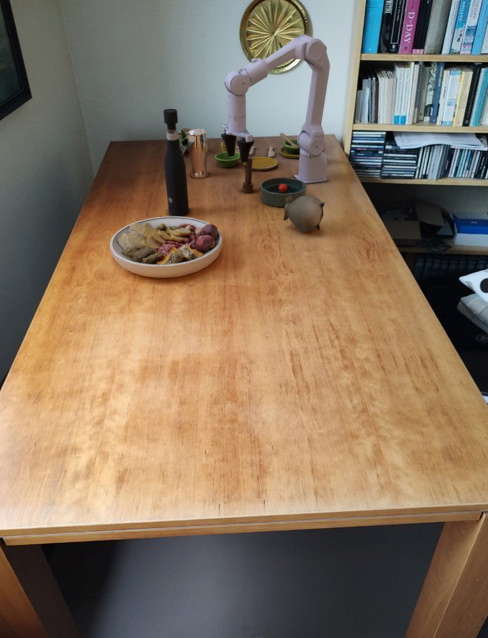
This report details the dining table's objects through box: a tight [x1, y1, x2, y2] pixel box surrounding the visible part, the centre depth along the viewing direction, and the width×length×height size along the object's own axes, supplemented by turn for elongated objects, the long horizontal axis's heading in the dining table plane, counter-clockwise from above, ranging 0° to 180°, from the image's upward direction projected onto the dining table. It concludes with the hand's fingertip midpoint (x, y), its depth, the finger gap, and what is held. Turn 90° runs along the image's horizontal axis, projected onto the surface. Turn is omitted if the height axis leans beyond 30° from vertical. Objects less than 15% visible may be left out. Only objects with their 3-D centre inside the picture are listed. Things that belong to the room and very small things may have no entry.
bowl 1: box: [109, 215, 223, 279], centre depth 149 cm, size 30×30×8 cm
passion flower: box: [177, 127, 192, 156], centre depth 215 cm, size 11×11×12 cm
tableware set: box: [213, 132, 326, 172], centre depth 210 cm, size 41×28×6 cm
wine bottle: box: [163, 108, 190, 217], centre depth 164 cm, size 6×6×30 cm
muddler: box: [241, 156, 254, 194], centre depth 184 cm, size 4×4×11 cm
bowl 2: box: [259, 176, 308, 208], centre depth 181 cm, size 15×15×4 cm
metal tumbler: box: [187, 128, 209, 179], centre depth 195 cm, size 7×7×15 cm
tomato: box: [279, 184, 287, 193], centre depth 184 cm, size 3×3×3 cm
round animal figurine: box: [282, 194, 326, 233], centre depth 161 cm, size 10×12×10 cm
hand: (237, 159), depth 182 cm, fingers open, 7 cm apart
